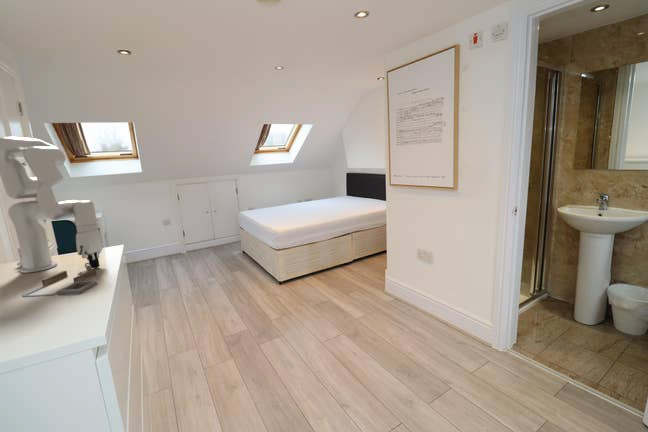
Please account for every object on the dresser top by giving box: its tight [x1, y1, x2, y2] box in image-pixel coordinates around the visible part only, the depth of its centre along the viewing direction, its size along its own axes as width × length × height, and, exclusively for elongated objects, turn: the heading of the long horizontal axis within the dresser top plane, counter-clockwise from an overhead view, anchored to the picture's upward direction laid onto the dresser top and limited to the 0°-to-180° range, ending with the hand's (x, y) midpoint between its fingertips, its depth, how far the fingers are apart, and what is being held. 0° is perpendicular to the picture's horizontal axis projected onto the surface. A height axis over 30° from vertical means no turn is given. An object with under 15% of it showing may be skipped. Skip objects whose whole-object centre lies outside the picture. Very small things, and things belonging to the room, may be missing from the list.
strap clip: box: [77, 262, 101, 276], centre depth 133 cm, size 8×3×4 cm, turn 165°
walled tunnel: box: [41, 268, 97, 287], centre depth 123 cm, size 14×10×2 cm
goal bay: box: [21, 285, 57, 298], centre depth 113 cm, size 12×9×1 cm
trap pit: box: [56, 280, 98, 296], centre depth 113 cm, size 8×9×2 cm
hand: (94, 267), depth 137 cm, fingers closed
